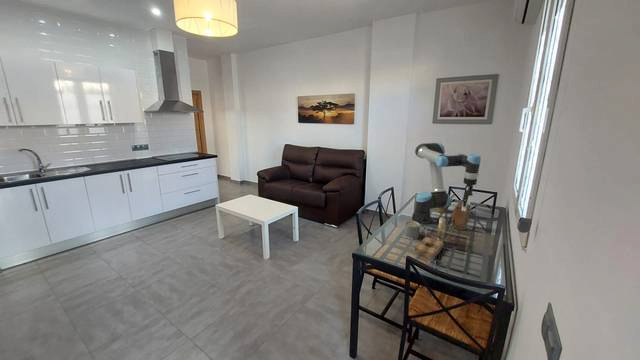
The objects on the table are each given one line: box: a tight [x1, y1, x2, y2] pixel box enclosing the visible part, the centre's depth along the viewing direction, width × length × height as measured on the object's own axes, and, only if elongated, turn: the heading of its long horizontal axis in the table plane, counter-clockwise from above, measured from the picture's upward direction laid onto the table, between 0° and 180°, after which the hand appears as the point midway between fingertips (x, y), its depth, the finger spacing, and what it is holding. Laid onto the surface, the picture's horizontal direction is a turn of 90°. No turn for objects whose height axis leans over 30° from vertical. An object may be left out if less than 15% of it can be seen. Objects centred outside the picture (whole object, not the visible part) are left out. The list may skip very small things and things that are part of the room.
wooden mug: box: [435, 194, 456, 214], centre depth 224 cm, size 9×14×18 cm, turn 48°
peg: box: [436, 217, 447, 243], centre depth 177 cm, size 4×4×18 cm
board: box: [414, 236, 444, 261], centre depth 169 cm, size 12×18×4 cm, turn 138°
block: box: [450, 202, 471, 231], centre depth 196 cm, size 11×8×20 cm
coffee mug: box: [403, 220, 425, 240], centre depth 186 cm, size 13×10×10 cm
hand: (465, 207), depth 176 cm, fingers open, 13 cm apart
